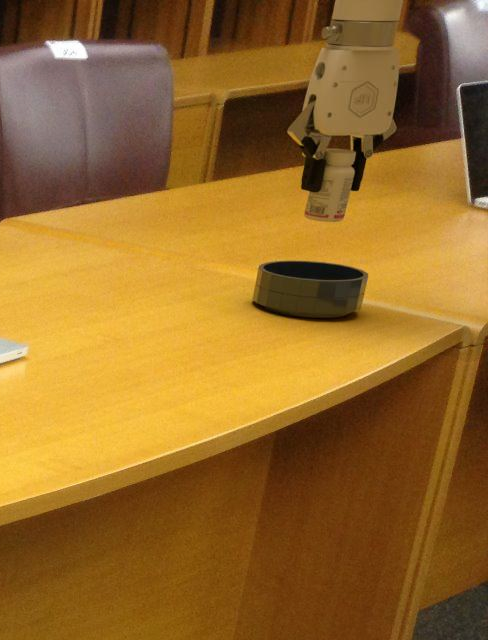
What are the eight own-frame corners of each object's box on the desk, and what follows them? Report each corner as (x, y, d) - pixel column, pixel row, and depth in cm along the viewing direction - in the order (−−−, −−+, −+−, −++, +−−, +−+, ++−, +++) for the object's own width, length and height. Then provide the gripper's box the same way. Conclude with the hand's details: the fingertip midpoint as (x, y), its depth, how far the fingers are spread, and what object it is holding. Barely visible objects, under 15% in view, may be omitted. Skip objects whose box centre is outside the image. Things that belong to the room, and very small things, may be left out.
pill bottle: (334, 215, 199) (350, 148, 195) (349, 223, 195) (366, 154, 191) (297, 214, 199) (313, 147, 195) (311, 222, 195) (328, 153, 191)
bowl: (381, 317, 197) (390, 278, 195) (289, 322, 195) (297, 283, 193) (319, 295, 209) (327, 258, 207) (231, 300, 207) (238, 262, 205)
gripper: (318, 39, 183) (287, 196, 191) (443, 37, 186) (407, 192, 194) (281, 35, 189) (252, 187, 197) (403, 33, 192) (370, 183, 200)
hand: (329, 188), depth 195 cm, fingers closed on pill bottle, 4 cm apart
